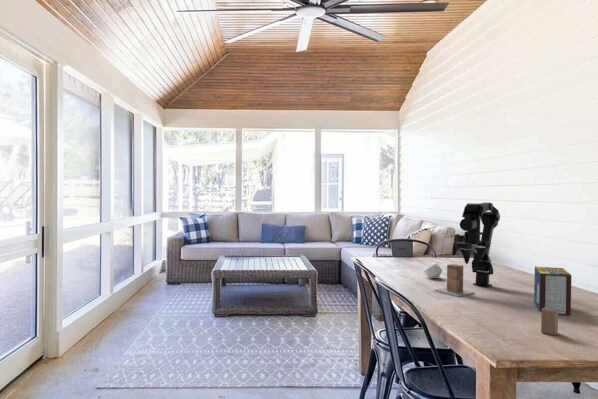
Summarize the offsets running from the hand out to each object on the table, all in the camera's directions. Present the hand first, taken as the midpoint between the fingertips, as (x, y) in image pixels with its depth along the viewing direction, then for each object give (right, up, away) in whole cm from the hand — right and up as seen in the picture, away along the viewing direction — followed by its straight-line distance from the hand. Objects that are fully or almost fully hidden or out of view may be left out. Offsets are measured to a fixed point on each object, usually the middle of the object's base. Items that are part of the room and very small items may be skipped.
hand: (472, 262), depth 185 cm
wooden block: (+1, -14, -55) cm, 57 cm away
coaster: (-10, -13, -3) cm, 17 cm away
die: (-10, -13, +27) cm, 32 cm away
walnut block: (-10, -13, -3) cm, 16 cm away
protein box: (+19, -14, -28) cm, 37 cm away
